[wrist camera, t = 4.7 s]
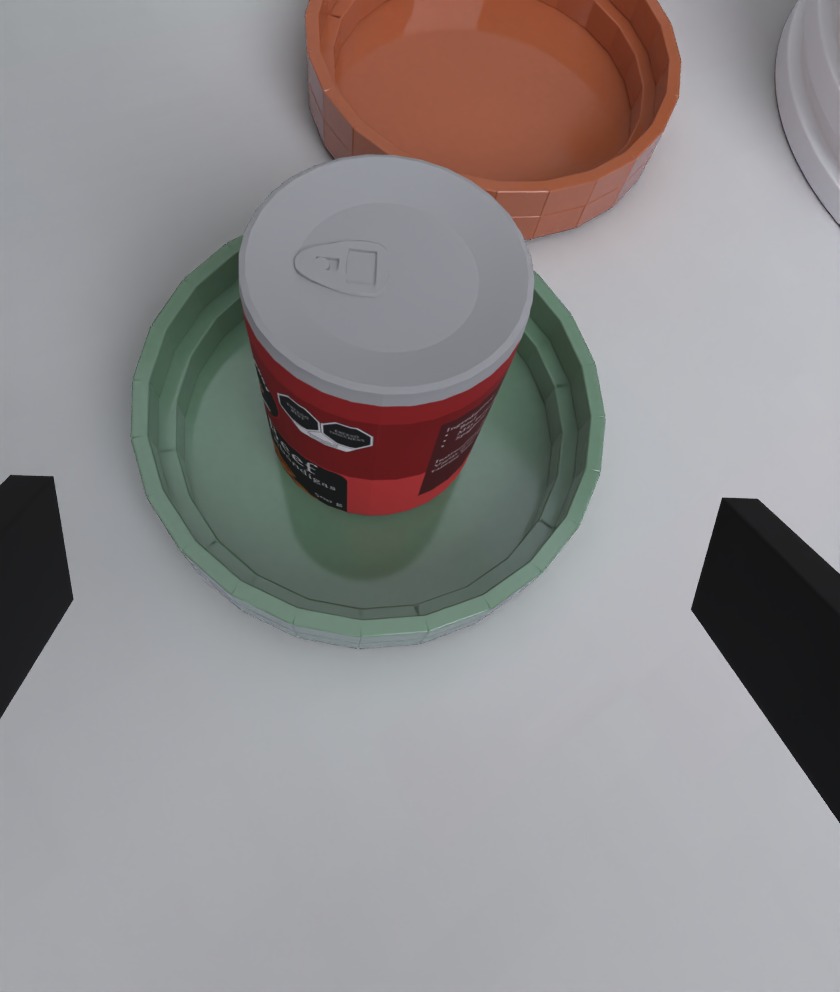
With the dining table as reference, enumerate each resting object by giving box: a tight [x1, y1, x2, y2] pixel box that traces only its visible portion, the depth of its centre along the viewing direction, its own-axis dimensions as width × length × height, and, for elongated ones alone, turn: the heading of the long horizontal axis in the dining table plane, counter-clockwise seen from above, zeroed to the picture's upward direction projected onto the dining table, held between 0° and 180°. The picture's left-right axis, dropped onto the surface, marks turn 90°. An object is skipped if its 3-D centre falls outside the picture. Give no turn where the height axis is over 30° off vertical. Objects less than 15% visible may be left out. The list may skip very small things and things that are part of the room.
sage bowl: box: [131, 235, 605, 649], centre depth 28 cm, size 17×17×3 cm
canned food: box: [239, 154, 534, 516], centre depth 25 cm, size 8×8×11 cm
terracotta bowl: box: [305, 0, 681, 240], centre depth 35 cm, size 17×17×3 cm
